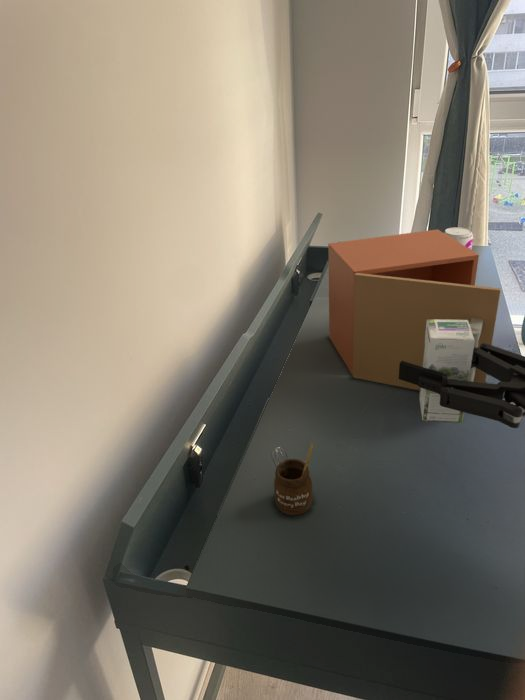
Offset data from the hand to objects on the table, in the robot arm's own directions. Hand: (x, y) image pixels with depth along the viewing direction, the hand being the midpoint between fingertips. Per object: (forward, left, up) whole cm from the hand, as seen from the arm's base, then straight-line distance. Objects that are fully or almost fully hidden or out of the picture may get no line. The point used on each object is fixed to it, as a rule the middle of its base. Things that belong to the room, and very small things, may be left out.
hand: (413, 357), depth 78 cm
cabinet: (+7, -40, -22) cm, 46 cm away
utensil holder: (+15, +13, -22) cm, 30 cm away
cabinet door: (+1, -21, -22) cm, 30 cm away
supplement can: (-4, -82, -22) cm, 85 cm away
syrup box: (-5, +2, -8) cm, 10 cm away
